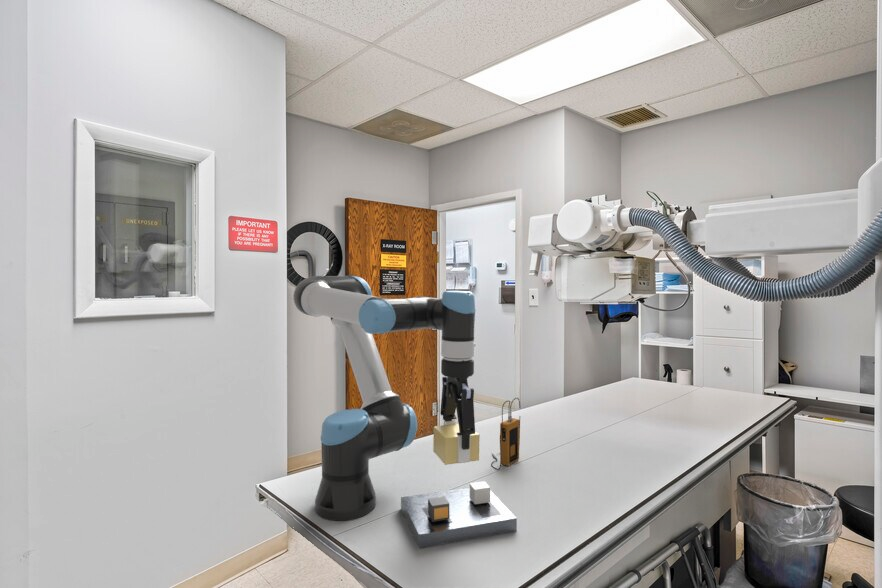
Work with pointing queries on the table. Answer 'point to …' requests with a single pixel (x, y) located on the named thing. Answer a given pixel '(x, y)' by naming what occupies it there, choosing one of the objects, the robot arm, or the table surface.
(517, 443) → the multimeter
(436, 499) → the block
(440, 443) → the cap
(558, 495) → the table surface
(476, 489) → the block
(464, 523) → the breaker panel
